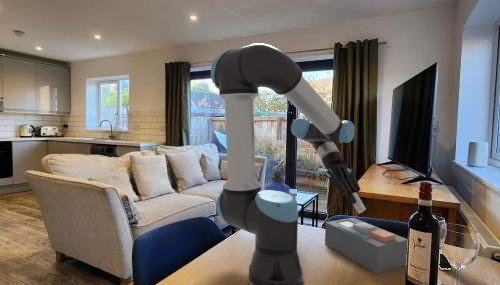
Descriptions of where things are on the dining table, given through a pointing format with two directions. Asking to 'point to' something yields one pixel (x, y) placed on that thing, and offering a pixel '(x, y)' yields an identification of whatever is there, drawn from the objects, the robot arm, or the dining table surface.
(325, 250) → the dining table surface
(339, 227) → the grey boxy piece
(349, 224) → the ivory key
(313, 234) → the dining table surface
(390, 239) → the terracotta key
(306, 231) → the dining table surface
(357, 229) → the grey key
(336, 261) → the dining table surface
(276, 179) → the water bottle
